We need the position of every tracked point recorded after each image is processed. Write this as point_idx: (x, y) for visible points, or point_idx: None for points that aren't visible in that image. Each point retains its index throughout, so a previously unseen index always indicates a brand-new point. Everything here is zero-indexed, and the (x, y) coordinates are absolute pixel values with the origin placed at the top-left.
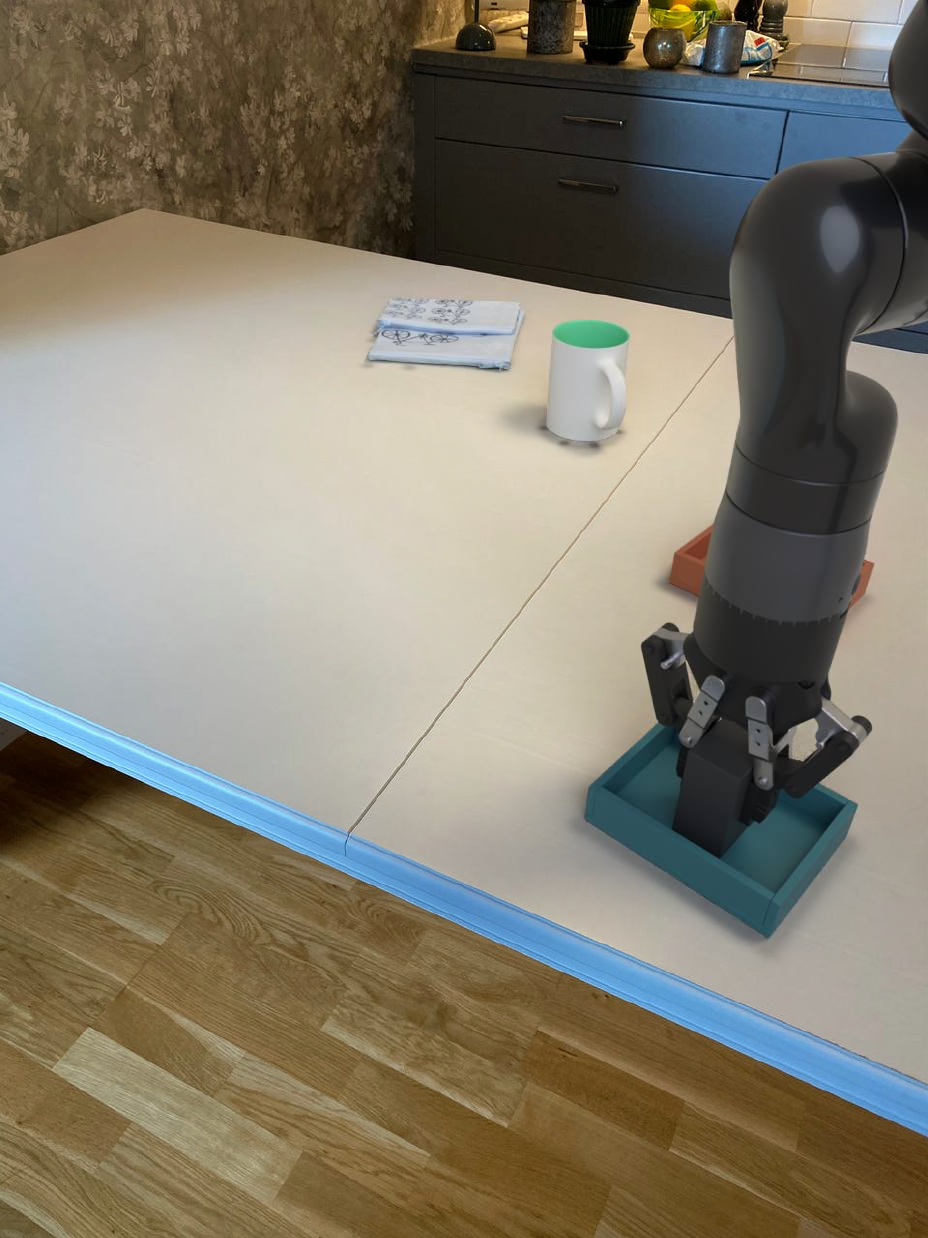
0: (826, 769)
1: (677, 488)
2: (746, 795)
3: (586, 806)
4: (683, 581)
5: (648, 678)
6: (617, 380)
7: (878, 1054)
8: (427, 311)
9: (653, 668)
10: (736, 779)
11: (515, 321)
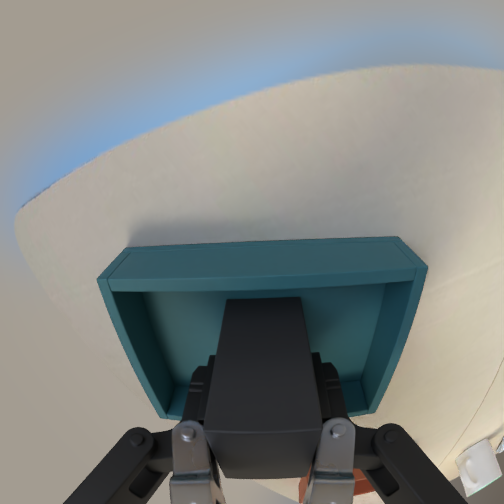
0: (85, 488)
1: None
2: None
3: (408, 247)
4: None
5: (443, 477)
6: (469, 484)
7: (20, 217)
8: None
9: (444, 501)
10: (210, 430)
11: (501, 449)
